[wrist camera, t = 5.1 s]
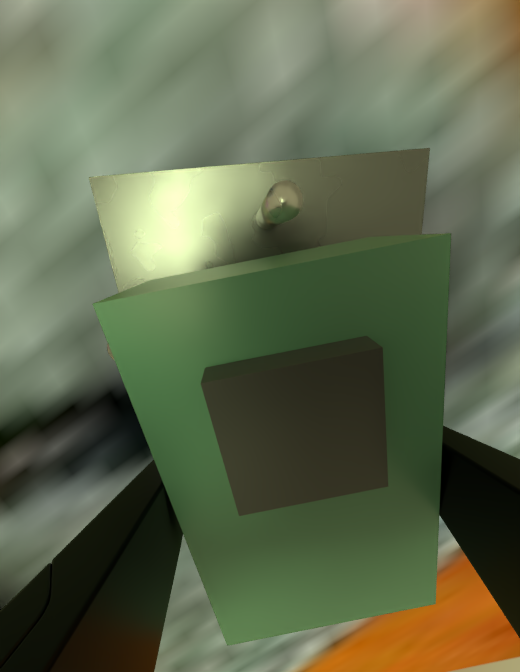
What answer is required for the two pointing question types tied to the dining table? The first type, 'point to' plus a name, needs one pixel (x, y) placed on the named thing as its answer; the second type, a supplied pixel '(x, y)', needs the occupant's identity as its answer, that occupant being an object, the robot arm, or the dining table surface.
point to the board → (297, 425)
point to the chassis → (254, 210)
